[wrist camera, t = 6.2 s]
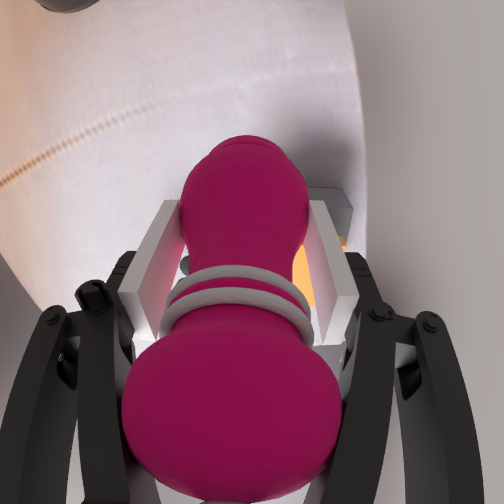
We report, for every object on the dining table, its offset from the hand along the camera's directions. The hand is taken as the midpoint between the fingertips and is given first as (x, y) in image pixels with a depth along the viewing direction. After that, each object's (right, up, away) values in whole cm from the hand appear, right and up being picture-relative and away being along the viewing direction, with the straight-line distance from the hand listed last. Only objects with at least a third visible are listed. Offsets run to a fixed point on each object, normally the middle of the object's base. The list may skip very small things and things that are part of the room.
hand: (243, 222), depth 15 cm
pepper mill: (0, +4, +5) cm, 6 cm away
